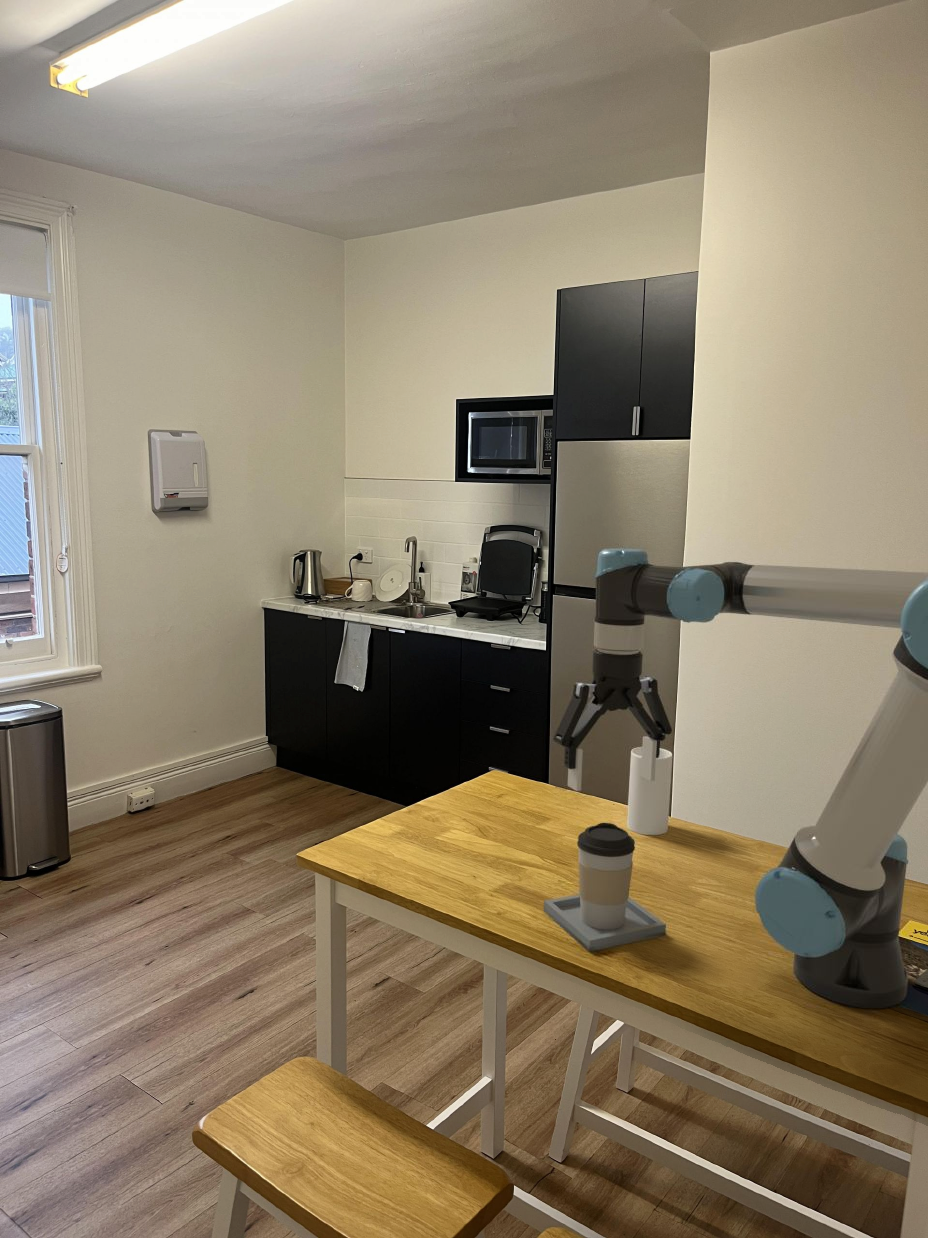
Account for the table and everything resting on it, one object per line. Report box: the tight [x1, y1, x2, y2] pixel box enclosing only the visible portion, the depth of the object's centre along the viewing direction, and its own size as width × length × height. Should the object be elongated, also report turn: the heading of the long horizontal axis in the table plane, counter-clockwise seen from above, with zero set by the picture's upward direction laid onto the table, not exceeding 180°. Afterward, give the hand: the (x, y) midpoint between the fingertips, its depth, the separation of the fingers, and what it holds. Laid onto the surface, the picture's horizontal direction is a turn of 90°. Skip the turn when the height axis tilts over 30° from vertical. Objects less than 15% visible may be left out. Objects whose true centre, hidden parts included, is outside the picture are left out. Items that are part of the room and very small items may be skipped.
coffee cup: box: [576, 822, 636, 930], centre depth 145 cm, size 9×9×15 cm
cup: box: [626, 746, 673, 836], centre depth 186 cm, size 8×8×16 cm
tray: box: [543, 893, 667, 953], centre depth 146 cm, size 14×14×2 cm
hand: (611, 783), depth 143 cm, fingers open, 13 cm apart
